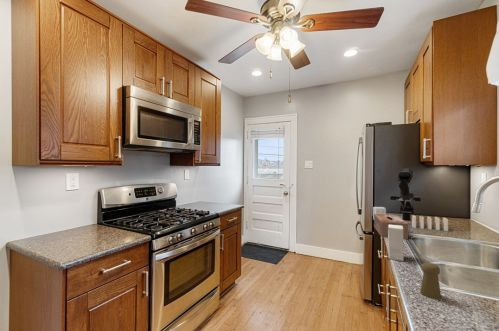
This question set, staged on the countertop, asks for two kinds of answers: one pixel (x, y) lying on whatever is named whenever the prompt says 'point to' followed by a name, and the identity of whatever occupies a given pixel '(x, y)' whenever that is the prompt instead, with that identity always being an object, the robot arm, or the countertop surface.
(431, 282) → the cork
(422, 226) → the domino
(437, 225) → the domino
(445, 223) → the domino
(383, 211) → the small box
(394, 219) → the tissue box cover
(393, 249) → the skincare box
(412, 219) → the white angular block
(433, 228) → the rubber mat
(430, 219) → the domino
